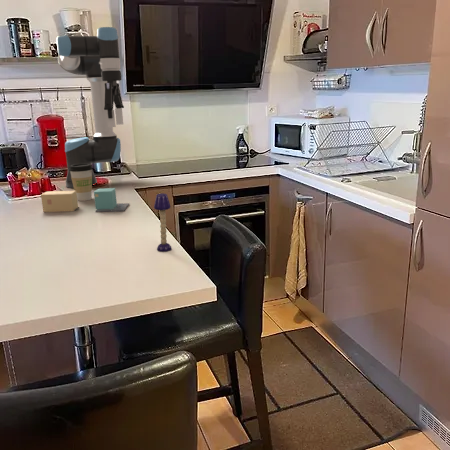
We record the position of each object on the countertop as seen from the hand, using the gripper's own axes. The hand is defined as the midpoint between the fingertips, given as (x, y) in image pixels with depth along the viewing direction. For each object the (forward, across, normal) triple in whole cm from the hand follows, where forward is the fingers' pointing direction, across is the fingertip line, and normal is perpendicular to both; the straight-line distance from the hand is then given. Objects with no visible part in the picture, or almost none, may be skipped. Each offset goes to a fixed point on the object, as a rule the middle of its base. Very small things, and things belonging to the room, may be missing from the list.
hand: (116, 125), depth 187 cm
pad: (+32, +10, -2) cm, 33 cm away
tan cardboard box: (+32, +10, -23) cm, 40 cm away
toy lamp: (+32, +62, +26) cm, 74 cm away
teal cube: (+31, +10, -4) cm, 33 cm away
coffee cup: (+32, -8, -19) cm, 38 cm away
